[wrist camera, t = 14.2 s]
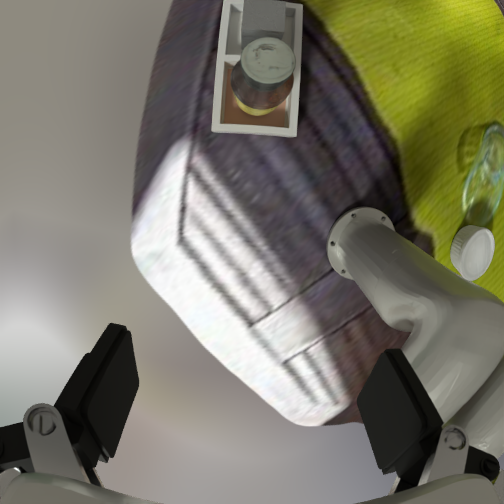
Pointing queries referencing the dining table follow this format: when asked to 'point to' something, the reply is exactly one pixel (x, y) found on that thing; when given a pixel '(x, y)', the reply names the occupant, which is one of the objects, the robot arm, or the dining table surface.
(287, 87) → the sauce bottle
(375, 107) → the dining table surface
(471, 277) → the ramekin
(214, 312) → the dining table surface
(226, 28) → the divided bay tray
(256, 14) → the grey metal block
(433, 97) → the dining table surface
